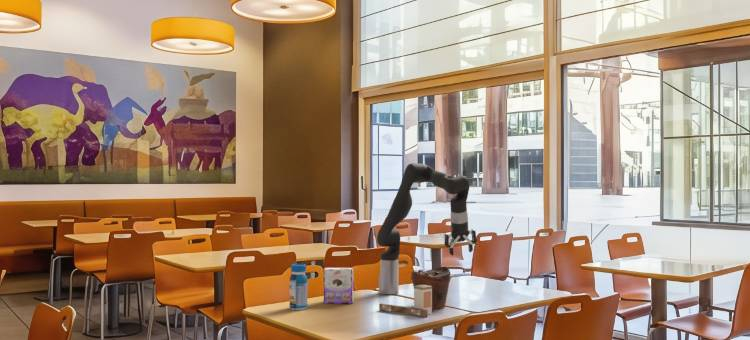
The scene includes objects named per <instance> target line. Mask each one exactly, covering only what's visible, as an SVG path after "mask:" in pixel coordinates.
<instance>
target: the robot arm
mask: <svg viewBox="0 0 750 340" xmlns="http://www.w3.org/2000/svg"><path fill="white" fill-rule="evenodd" d="M414 183H415V184H417V183H418V184H419V183H420V184H421V183H432V184H433V186H435V187H437V188H440V189H443V190H444V191H445V192H446V193H447V194H449V195H455V196H453V197H452V198H450V202H449V204H450V227H451V228H450V229H451V231H450V233H447V232H445V233H444V246H445V247H446V248H448V249H449V250H448V251H449V254H450V255H451V256H454V255H455V254H454V246H455V245H456V243H460V242H465V241H467V242H468V245H467V246H468V252H469V253H472V251H473V247H474V246H473V245H474V244H475V243H477V235H476V232H477V231H476V230H475V229H474V228H471V229H470V230H469V217H468V215H469V214H468V210H467V208H468V207H467V206H468V205H467V200H468V196H469V191H470V181H469V179H468V177H467V176H465V175H459V176H452V175H451V174H449V173H446V172H442V171H438V170H436V169H433V168H432V167H431V166H429V165H427V164H425V163H412V162H411V163H409V164H408V165H406V168H405V170H404V172H403V175H402V179H401V182H400V186H399V187H398V191H397V192H396V195H395V198H394V199H393V202H392V204H391V206H390V210H389V211H388V214H387V216H386V218H385V220H384V221H383V223H382V225H381V226H380V228H379V230H378V232H377V236H376V242H377V244H378V245H379V246H380V247H388V249H387V250H385V251H384V252H382V253H380V273H379V274H378V293H379V294H382V295H398V294H399V257H400V252H401V234H400V231H399V230H398V228H395V227H396V226H398V225H399V224H400V223H401V222H402V221H404V219H406V218H407V216H408V215H409V213H410V211H411V209H412V205H413V199H412V195H411V189H412V186H413V185H414ZM469 235H471V239H470V238H469ZM451 237H452V238H451ZM450 238H451V239H450Z"/></svg>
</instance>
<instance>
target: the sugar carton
mask: <svg viewBox="0 0 750 340" xmlns="http://www.w3.org/2000/svg"><path fill="white" fill-rule="evenodd" d="M413 296H414V297H413V298H414V299H413V300H414V301H413V308H418V309H425V310H428V315H432V314H433V309H432V286H428V285H417V286H413Z"/></svg>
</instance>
